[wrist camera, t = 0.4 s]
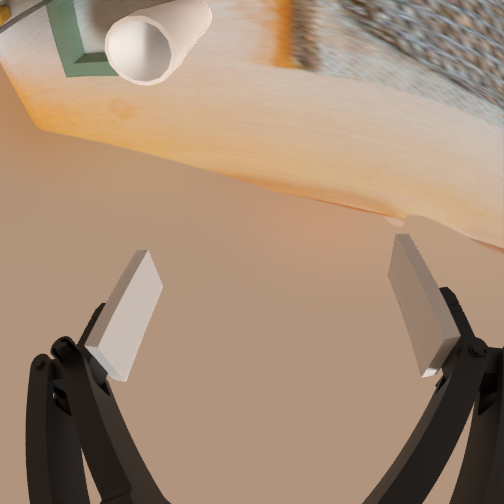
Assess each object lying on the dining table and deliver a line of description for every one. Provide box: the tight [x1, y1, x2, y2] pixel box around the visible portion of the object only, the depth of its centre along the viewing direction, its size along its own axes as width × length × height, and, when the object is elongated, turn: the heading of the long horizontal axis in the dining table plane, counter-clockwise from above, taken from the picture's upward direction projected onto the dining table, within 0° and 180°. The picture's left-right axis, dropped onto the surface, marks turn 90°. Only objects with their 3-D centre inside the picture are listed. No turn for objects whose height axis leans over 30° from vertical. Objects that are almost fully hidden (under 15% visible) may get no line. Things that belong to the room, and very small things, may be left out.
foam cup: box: [105, 0, 212, 86], centre depth 26 cm, size 10×9×13 cm
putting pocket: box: [0, 0, 120, 77], centre depth 25 cm, size 16×22×18 cm
